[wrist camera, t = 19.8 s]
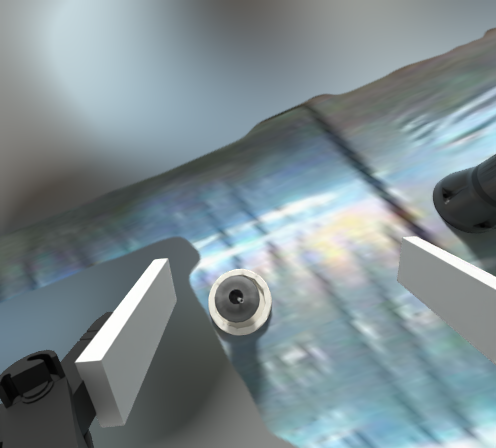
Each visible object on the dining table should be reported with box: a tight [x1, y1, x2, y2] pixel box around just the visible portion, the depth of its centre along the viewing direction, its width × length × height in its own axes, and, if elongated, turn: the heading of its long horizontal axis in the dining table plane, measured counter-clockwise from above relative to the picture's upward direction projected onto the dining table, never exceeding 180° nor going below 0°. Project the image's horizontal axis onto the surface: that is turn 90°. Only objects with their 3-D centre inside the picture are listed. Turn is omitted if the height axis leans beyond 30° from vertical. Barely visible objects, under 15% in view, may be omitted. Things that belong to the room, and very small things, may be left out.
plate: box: [209, 269, 272, 335], centre depth 49 cm, size 13×13×2 cm
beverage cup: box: [215, 275, 260, 323], centre depth 39 cm, size 7×7×20 cm
